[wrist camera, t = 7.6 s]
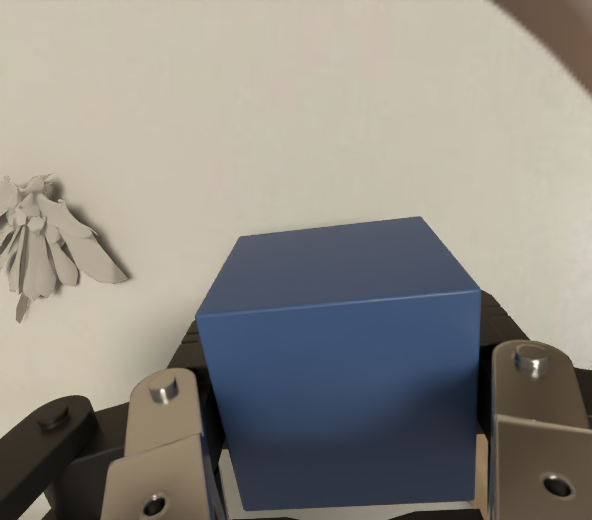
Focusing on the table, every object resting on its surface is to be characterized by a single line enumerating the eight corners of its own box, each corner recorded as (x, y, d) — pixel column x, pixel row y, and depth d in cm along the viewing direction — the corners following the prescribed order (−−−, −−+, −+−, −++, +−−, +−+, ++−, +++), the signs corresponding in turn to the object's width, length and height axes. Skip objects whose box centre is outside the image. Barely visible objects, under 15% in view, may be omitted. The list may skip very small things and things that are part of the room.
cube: (421, 215, 11) (483, 288, 7) (425, 370, 13) (475, 502, 9) (238, 235, 12) (192, 316, 7) (267, 382, 13) (243, 512, 9)
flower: (118, 338, 20) (88, 381, 18) (-47, 273, 19) (-102, 309, 17) (154, 211, 16) (122, 243, 14) (-50, 121, 15) (-121, 140, 13)
